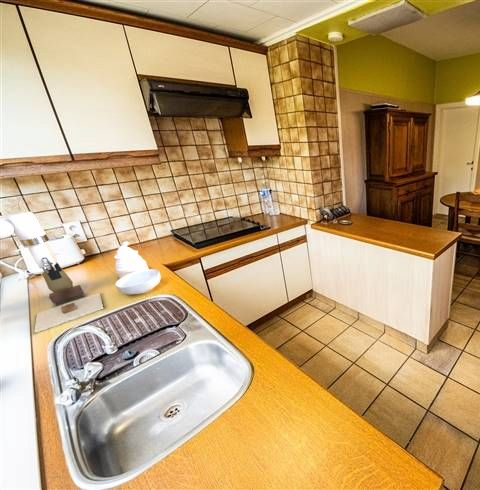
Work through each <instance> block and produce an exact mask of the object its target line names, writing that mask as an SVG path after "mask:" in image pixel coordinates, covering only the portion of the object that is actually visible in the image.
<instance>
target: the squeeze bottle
mask: <svg viewBox="0 0 480 490" xmlns="http://www.w3.org/2000/svg"><path fill="white" fill-rule="evenodd" d="M61 269H62V271H60V272H59V273H60V274H61V276H62V278H60V279H56V280H51V279H50V277H49V276H48V274H47V272H46V270H45V268H44V267H43V268H42V271H43V272H42V277H43V279H44V282H45V283H46V286H47V288H48V290H49V291H51V293H54V292H57V291H61V290H64V289H67V288H71V287H74V285H73V280H72V279H71V278H70V277H69V276H68V274H67V273H66V272H65V270H64V269H63V268H62V267H61Z"/></svg>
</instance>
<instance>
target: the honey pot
mask: <svg viewBox="0 0 480 490" xmlns="http://www.w3.org/2000/svg"><path fill="white" fill-rule="evenodd" d="M129 244H130V242H129V241H123V242H122V245H120V246H119V247H118V248H117V250H116V253H115V255H114V256H113V259H114V260H115V272H116V274H117V277H118V278H119V279H121V278H123V277H124V276H127V275H129V274H131V273H134V272H137V271H141V270H147V269H150V268H149V266H148V264H147V261H146V260H145V259H144V258H143V257H142V256H141V255H139V251H138V250H136V249H132V248H131V247H129V246H128V245H129Z"/></svg>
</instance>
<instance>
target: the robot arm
mask: <svg viewBox="0 0 480 490" xmlns="http://www.w3.org/2000/svg"><path fill="white" fill-rule="evenodd" d="M13 234H15V236H16V238H17V239H18V240H19V242H20V244H21V245H22V246H23V248H28V250H29V253H30V254H31V256H32V257H33V260H34V261H35V263H36V265H37V266H38V268H39V269H42V268H43V267H44V268H45V270H46V272H47V274H48V276H49V277H50V279H51V280H56V279H60V278H62V276H61V274H60V273H59V272H60V271H62V269H63V268H62V267H61V266H60V264H59V263H58V261H57V258H56V257H57V256H56V255H55V253H54V251H53V250H52V248H51V247H50V245H49V243H50V242H51V239H50V238H49V236H48V235H47V233H46V231H45V230H44V227H43V226H42V224H41V223H40V221H39V220H38V218H37V216H36V214H34V213H33V212H32V211H30V210H29V211H25V210H24V211H17V212H12V213H9V214H3V215H0V240H3V239H6V238H9V237H11V236H12V235H13ZM61 268H62V269H61ZM42 270H43V269H42Z"/></svg>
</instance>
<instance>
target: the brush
mask: <svg viewBox="0 0 480 490" xmlns="http://www.w3.org/2000/svg"><path fill="white" fill-rule="evenodd" d="M48 297H49V299H50V301H51V302H52V304H53V305H55V307H58V306H61V305H64V304H67V303H71V302H74V301H77V300H80V299H83V298H85V291H84V289H83V288H82V285H81V284H77V285H73V287H71V288H67V289H64V290H61V291H57V292H51V293H49V294H48Z"/></svg>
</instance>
